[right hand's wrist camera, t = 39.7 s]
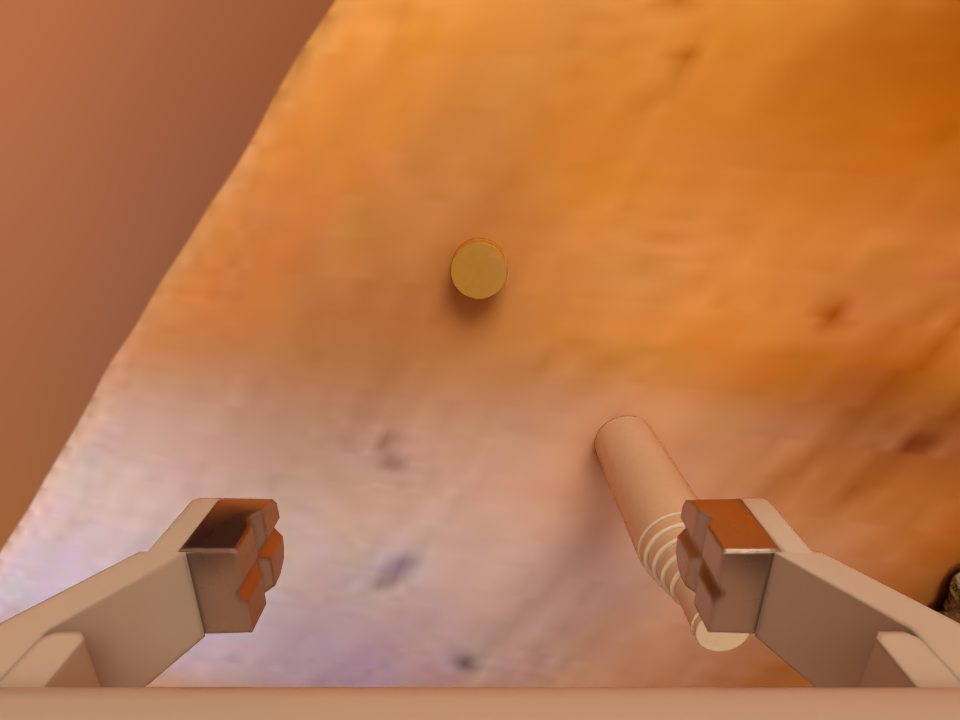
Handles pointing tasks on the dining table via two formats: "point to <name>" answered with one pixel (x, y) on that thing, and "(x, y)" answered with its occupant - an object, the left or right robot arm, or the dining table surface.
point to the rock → (952, 599)
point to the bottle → (654, 512)
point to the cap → (479, 268)
